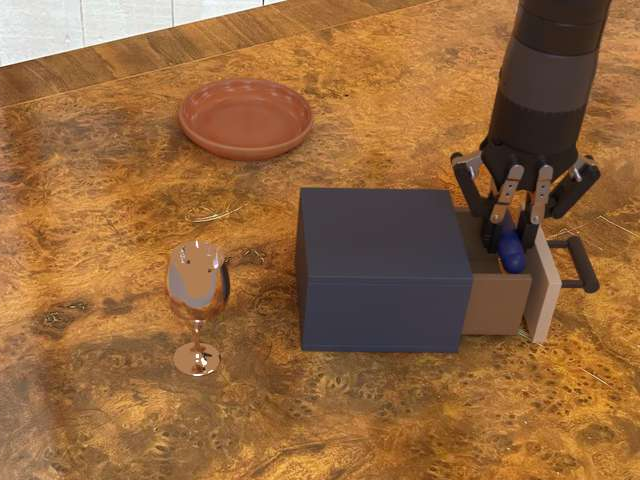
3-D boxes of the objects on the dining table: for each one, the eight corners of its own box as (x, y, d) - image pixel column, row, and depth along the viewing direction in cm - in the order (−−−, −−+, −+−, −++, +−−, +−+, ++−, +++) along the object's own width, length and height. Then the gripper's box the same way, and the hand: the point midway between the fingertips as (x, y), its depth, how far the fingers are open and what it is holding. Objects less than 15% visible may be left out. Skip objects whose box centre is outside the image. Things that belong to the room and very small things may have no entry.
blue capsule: (484, 220, 104) (488, 201, 102) (506, 220, 104) (511, 201, 102) (502, 279, 97) (506, 260, 95) (526, 279, 97) (531, 260, 95)
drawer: (563, 260, 109) (580, 202, 104) (595, 343, 100) (615, 284, 95) (386, 257, 109) (395, 199, 104) (401, 341, 99) (411, 281, 95)
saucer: (324, 165, 123) (326, 143, 121) (186, 173, 121) (185, 151, 119) (299, 95, 135) (300, 74, 133) (173, 101, 133) (172, 80, 131)
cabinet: (435, 261, 110) (449, 189, 104) (457, 353, 100) (473, 278, 94) (294, 259, 110) (300, 186, 104) (301, 351, 99) (308, 276, 93)
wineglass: (187, 329, 101) (186, 229, 93) (239, 351, 99) (243, 250, 91) (153, 366, 97) (150, 264, 89) (207, 389, 95) (208, 287, 87)
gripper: (469, 107, 86) (437, 273, 97) (639, 110, 86) (588, 275, 98) (454, 61, 92) (425, 223, 103) (614, 65, 92) (568, 226, 103)
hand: (505, 248), depth 100 cm, fingers closed on blue capsule, 2 cm apart
